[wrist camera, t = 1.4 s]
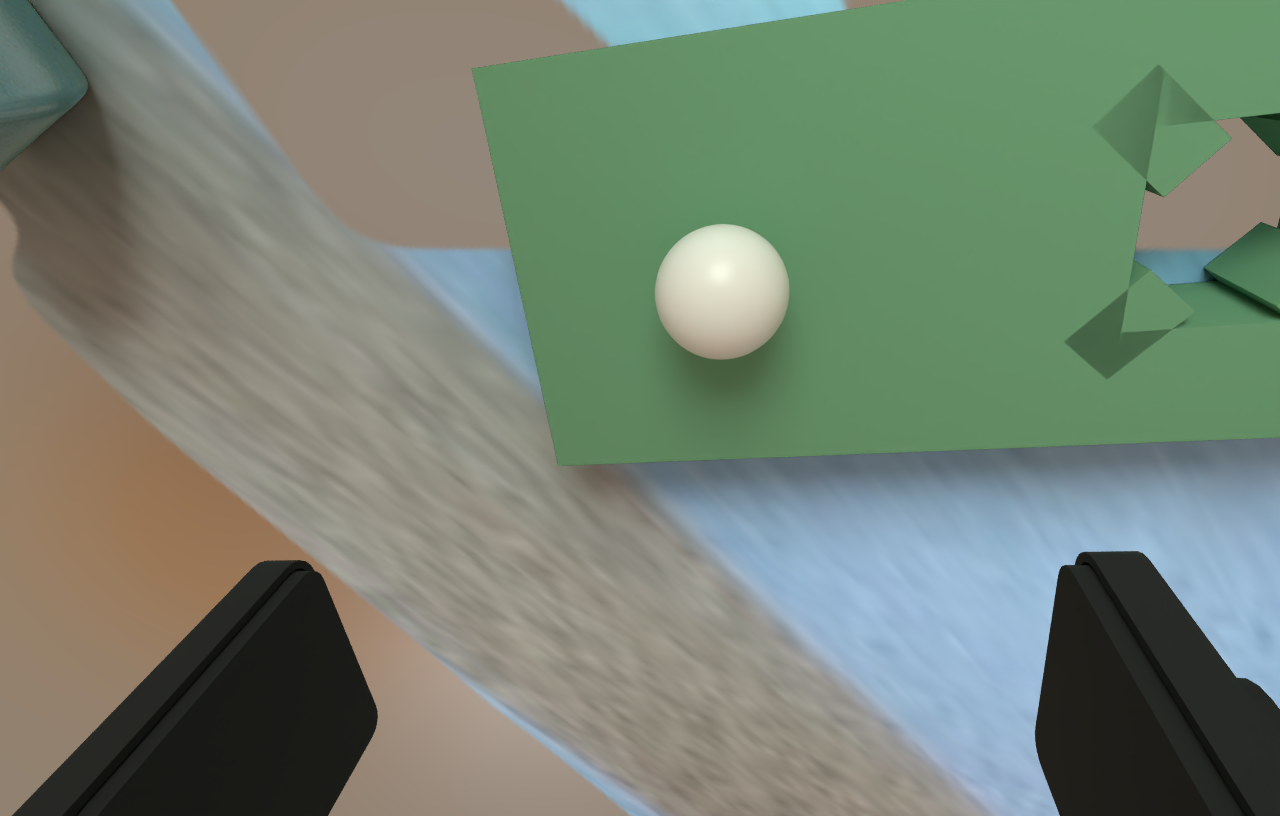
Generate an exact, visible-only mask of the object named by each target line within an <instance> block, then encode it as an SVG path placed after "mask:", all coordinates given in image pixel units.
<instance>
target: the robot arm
mask: <svg viewBox="0 0 1280 816" xmlns="http://www.w3.org/2000/svg"><path fill="white" fill-rule="evenodd" d="M377 718H378V715H377V708H376V705H375V702H374V700H373V697H372V695H371V692H370V690H369V688H368V685H367V683H366V680H365V678H364V675H363V673H362V671H361V668H360V666H359V664H358V661H357V659H356V656H355V654H354V651H353V649H352V646H351V644H350V642H349V639H348V637H347V634H346V632H345V630H344V627H343V625H342V622H341V620H340V617H339V615H338V613H337V610H336V608H335V605H334V603H333V600H332V598H331V596H330V593H329V591H328V588H327V586H326V583H325V581H324V579H323V577H322V575H321V574H320V573H318V572H316V571H314V569H313V568H312V566H311V565H310V564H309V563H307V562H306V561H300V560H293V561H291V560H290V561H289V560H288V561H264V562H260V563H258V564H257V565H256V566H254V567H253V568H252V569H251V570H250V571H249V572H248V573H247V574H246V575H245V576H244V577H243V578H242V579H241V580H240V582H238V584H237V585H236V586H235V587H234V588H233V589H232V590H231V591H230V592H229V593H228V594H227V595H226V596H225V597H224V598H223V599H222V600H221V601H220V602H219V603H218V604H217V605H216V606H215V607H214V608H213V609H212V610H211V611H210V612H209V613H208V614H207V615H206V616H205V618H204V619H203V620H202V621H201V622H200V623H199V624H198V625H197V626H196V627H195V628H194V629H193V630H192V631H191V632H190V633H189V634H188V635H187V636H186V637H185V638H184V639H183V640H182V641H181V642H180V643H179V644H178V645H177V646H176V647H175V648H174V649H173V650H172V652H171V653H170V654H169V655H168V656H167V657H166V658H165V659H164V660H163V661H162V662H161V663H160V664H159V665H158V666H157V667H156V668H155V669H154V670H153V671H152V672H151V673H150V674H149V675H148V676H147V677H146V678H145V679H144V680H143V682H141V683H140V684H139V685H138V686H137V688H136V689H135V690H134V691H133V692H132V693H131V694H130V695H129V696H128V697H127V698H126V699H125V700H124V701H123V702H122V703H121V704H120V705H119V706H118V707H117V708H116V709H115V710H114V711H113V712H112V713H111V714H110V715H109V716H108V717H107V718H106V719H105V721H104V722H103V723H102V724H101V725H100V726H99V727H98V728H97V729H96V730H95V731H94V732H93V733H92V734H91V735H90V736H89V737H88V738H87V739H86V740H85V741H84V742H83V743H82V744H81V745H80V746H79V747H78V748H77V749H76V750H75V751H74V752H73V754H71V756H70V757H69V758H68V759H67V760H66V761H65V762H64V763H63V764H62V765H61V766H60V767H59V768H58V769H57V770H56V771H55V772H54V773H53V774H52V775H51V776H50V777H49V778H48V779H47V780H46V781H45V782H44V783H43V784H42V785H41V786H40V787H39V788H38V790H37V791H36V792H35V793H34V794H33V795H32V796H31V797H30V798H29V799H28V800H27V801H26V802H25V803H24V804H23V805H22V806H21V807H20V808H19V809H18V810H17V811H16V812H15V813H14V814H13V815H12V816H328V815H329V813H330V811H331V809H332V807H333V806H334V804H335V802H336V800H337V798H338V797H339V795H340V793H341V791H342V790H343V788H344V786H345V784H346V782H347V781H348V779H349V777H350V776H351V774H352V772H353V770H354V768H355V767H356V765H357V763H358V761H359V759H360V758H361V756H362V754H363V752H364V751H365V749H366V747H367V745H368V744H369V742H370V740H371V738H372V736H373V734H374V732H375V729H376V725H377ZM1035 741H1036V748H1037V753H1038V758H1039V761H1040V764H1041V767H1042V770H1043V772H1044V775H1045V778H1046V780H1047V783H1048V786H1049V788H1050V791H1051V793H1052V796H1053V799H1054V801H1055V804H1056V807H1057V809H1058V812H1059V815H1060V816H1280V709H1279V708H1278V707H1277V705H1276V704H1275V703H1274V701H1273V700H1272V699H1271V698H1270V697H1269V696H1268V695H1267V694H1266V693H1265V692H1264V691H1263V689H1262V688H1261V687H1260V686H1258V685H1257V684H1255V683H1253V682H1252V681H1250V680H1248V679H1246V678H1236V676H1235V675H1234V674H1233V672H1232V671H1231V670H1230V668H1229V667H1228V666H1227V664H1226V663H1225V662H1224V660H1223V659H1222V658H1221V656H1220V655H1219V653H1218V652H1217V651H1216V649H1215V648H1214V647H1213V645H1212V644H1211V643H1210V641H1209V640H1208V639H1207V637H1206V636H1205V634H1204V633H1203V632H1202V630H1201V629H1200V628H1199V626H1198V625H1197V624H1196V622H1195V621H1194V620H1193V618H1192V617H1191V615H1190V614H1189V613H1188V611H1187V610H1186V609H1185V607H1184V606H1183V605H1182V603H1181V602H1180V601H1179V599H1178V598H1177V597H1176V595H1175V594H1174V592H1173V591H1172V590H1171V588H1170V587H1169V586H1168V584H1167V583H1166V582H1165V580H1164V579H1163V578H1162V576H1161V575H1160V573H1159V572H1158V571H1157V569H1156V568H1155V567H1154V565H1153V564H1152V563H1151V561H1150V560H1149V559H1148V558H1147V557H1146V556H1145V555H1144V554H1143V553H1140V552H1138V551H1123V552H1083V553H1080V554H1079V556H1078V557H1077V559H1076V562H1075V565H1064V566H1062V567H1061V569H1060V571H1059V575H1058V580H1057V587H1056V594H1055V600H1054V607H1053V614H1052V621H1051V627H1050V634H1049V641H1048V647H1047V654H1046V661H1045V667H1044V674H1043V681H1042V687H1041V694H1040V701H1039V707H1038V714H1037V721H1036V728H1035Z"/></svg>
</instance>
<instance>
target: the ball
mask: <svg viewBox="0 0 1280 816" xmlns="http://www.w3.org/2000/svg"><path fill="white" fill-rule="evenodd" d="M788 301H789V278H788V275H787V271H786V268H785V265H784V263H783V261H782V259H781V257H780V255H779V254H778V252H777V251H776V250H775V248H774V247H773V246H772V245H771V244H770V243H769V242H768V241H767V240H766V239H764V238H763V237H762V236H760V235H759V234H757V233H756V232H754V231H752V230H750V229H747V228H744V227H741V226H737V225H730V224H716V225H710V226H706V227H703V228H700V229H697V230H695V231H693V232H691V233H689V234H687V235H686V236H684V237H683V238H682V239H680V240H679V241H678V242H677V243H676V244H675V245H674V246H673V247H672V248H671V249H670V251H669V252H668V254H667V255H666V256H665V258H664V260H663V262H662V264H661V266H660V268H659V271H658V274H657V279H656V284H655V302H656V307H657V312H658V315H659V318H660V320H661V322H662V324H663V326H664V328H665V329H666V331H667V332H668V334H669V335H670V336H671V337H672V338H673V339H674V341H676V342H677V343H678V344H679V345H680V346H681V347H683V348H684V349H686V350H687V351H689V352H691V353H693V354H695V355H698V356H701V357H705V358H709V359H717V360H726V359H733V358H737V357H741V356H744V355H746V354H749V353H751V352H753V351H755V350H756V349H758V348H759V347H761V346H762V345H764V344H765V343H766V342H767V341H768V340H769V339H770V338H771V337H772V336H773V335H774V333H775V332H776V331H777V329H778V328H779V326H780V324H781V323H782V321H783V318H784V316H785V314H786V311H787V307H788Z"/></svg>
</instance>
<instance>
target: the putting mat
mask: <svg viewBox="0 0 1280 816" xmlns="http://www.w3.org/2000/svg"><path fill="white" fill-rule="evenodd" d="M472 72H473V76H474V81H475V85H476V90H477V95H478V99H479V104H480V109H481V113H482V118H483V123H484V127H485V132H486V136H487V141H488V145H489V150H490V155H491V159H492V164H493V168H494V173H495V178H496V182H497V187H498V191H499V196H500V201H501V205H502V210H503V214H504V219H505V223H506V228H507V233H508V237H509V242H510V247H511V251H512V256H513V260H514V265H515V270H516V274H517V279H518V283H519V288H520V293H521V297H522V302H523V306H524V311H525V316H526V320H527V325H528V329H529V334H530V339H531V343H532V348H533V352H534V357H535V362H536V366H537V371H538V375H539V380H540V385H541V389H542V394H543V398H544V403H545V407H546V412H547V417H548V421H549V426H550V430H551V435H552V440H553V444H554V449H555V453H556V458H557V463H558V466H570V465H595V464H620V463H646V462H671V461H697V460H722V459H747V458H773V457H798V456H824V455H849V454H875V453H900V452H925V451H951V450H976V449H1002V448H1027V447H1053V446H1078V445H1103V444H1129V443H1154V442H1180V441H1205V440H1230V439H1256V438H1280V219H1279V223H1278V227H1277V228H1275V227H1273V226H1270V225H1267V224H1264V223H1262V222H1260V223H1259V224H1258V225H1257V226H1255V227H1254V228H1253V229H1252V230H1251V231H1249V232H1248V233H1247V234H1245V235H1244V236H1243V237H1242V238H1240V239H1239V240H1238V241H1237V242H1235V243H1234V244H1233V245H1231V246H1230V247H1229V248H1228V249H1226V250H1225V251H1224V252H1223V253H1221V254H1220V255H1219V256H1218V257H1216V258H1215V259H1214V260H1213V261H1211V262H1210V263H1209V264H1208V265H1206V266H1205V267H1204V268H1205V269H1206V270H1207V271H1208V272H1209V273H1210V274H1211V275H1212V276H1213V277H1214V278H1215V279H1216V280H1217V281H1210V282H1197V283H1184V284H1171V285H1166V284H1165V283H1164V282H1163V281H1162V280H1161V279H1160V278H1159V277H1158V276H1157V275H1156V274H1155V273H1153V272H1152V271H1151V270H1150V269H1148V268H1147V267H1145V266H1143V265H1142V264H1140V263H1138V262H1137V261H1135V260H1133V259H1134V253H1135V247H1136V241H1137V235H1138V229H1139V222H1140V217H1141V210H1142V205H1143V199H1144V193H1145V190H1148V191H1150V192H1152V193H1155V194H1157V195H1160V196H1162V197H1165V196H1166V195H1167V194H1168V193H1170V192H1171V191H1172V190H1173V189H1174V188H1175V187H1176V186H1178V185H1179V184H1180V183H1181V182H1182V181H1183V180H1185V179H1186V178H1187V177H1188V176H1189V175H1190V174H1191V173H1192V172H1194V171H1195V170H1196V169H1197V168H1198V167H1200V166H1201V165H1202V164H1203V163H1204V162H1205V161H1207V160H1208V159H1209V158H1210V157H1211V156H1212V155H1214V154H1215V153H1216V152H1217V151H1218V150H1219V149H1220V148H1222V147H1223V146H1224V145H1225V144H1226V143H1227V142H1228V141H1230V140H1231V139H1232V138H1231V137H1230V136H1229V135H1228V134H1227V133H1226V132H1225V131H1224V130H1223V129H1222V128H1221V127H1220V126H1219V125H1218V124H1217V123H1216V122H1215V121H1214V120H1222V119H1230V118H1239V117H1240V118H1241V119H1242V120H1243V121H1244V122H1245V123H1246V124H1247V125H1248V126H1249V127H1250V128H1251V129H1252V130H1253V131H1254V132H1255V133H1256V134H1257V136H1258V137H1259V138H1260V139H1262V141H1264V142H1265V144H1266V145H1267V146H1268V147H1269V148H1270V149H1271V150H1272V151H1273V152H1274V153H1275V154H1276V155H1278V156H1280V0H906V1H900V2H893V3H887V4H880V5H874V6H868V7H861V8H855V9H849V10H842V11H836V12H829V13H823V14H817V15H810V16H804V17H797V18H791V19H785V20H778V21H772V22H766V23H759V24H753V25H746V26H740V27H734V28H727V29H721V30H714V31H708V32H702V33H695V34H689V35H683V36H676V37H670V38H663V39H657V40H651V41H644V42H638V43H631V44H625V45H619V46H612V47H606V48H600V49H594V50H587V51H581V52H574V53H568V54H561V55H555V56H548V57H542V58H536V59H530V60H523V61H517V62H510V63H504V64H498V65H491V66H485V67H479V68H472ZM716 224H730V225H737V226H741V227H744V228H747V229H750V230H752V231H754V232H756V233H757V234H759V235H760V236H762V237H763V238H764V239H766V240H767V241H768V242H769V243H770V244H771V245H772V246H773V247H774V248H775V250H776V251H777V252H778V254H779V255H780V257H781V259H782V261H783V263H784V265H785V268H786V271H787V275H788V278H789V301H788V307H787V311H786V314H785V316H784V318H783V321H782V323H781V324H780V326H779V328H778V329H777V331H776V332H775V333H774V335H773V336H772V337H771V338H770V339H769V340H768V341H767V342H766V343H765V344H764V345H762V346H761V347H759V348H758V349H756V350H755V351H753V352H751V353H749V354H746V355H744V356H741V357H737V358H733V359H726V360H717V359H709V358H705V357H701V356H698V355H695V354H693V353H691V352H689V351H687V350H686V349H684V348H683V347H681V346H680V345H679V344H678V343H677V342H676V341H674V339H673V338H672V337H671V336H670V335H669V334H668V332H667V331H666V329H665V328H664V326H663V324H662V322H661V320H660V318H659V315H658V312H657V307H656V302H655V284H656V279H657V274H658V271H659V268H660V266H661V264H662V262H663V260H664V258H665V256H666V255H667V254H668V252H669V251H670V249H671V248H672V247H673V246H674V245H675V244H676V243H677V242H678V241H679V240H680V239H682V238H683V237H684V236H686V235H687V234H689V233H691V232H693V231H695V230H697V229H700V228H703V227H706V226H710V225H716Z"/></svg>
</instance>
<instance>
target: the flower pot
mask: <svg viewBox="0 0 1280 816" xmlns="http://www.w3.org/2000/svg"><path fill="white" fill-rule="evenodd" d="M87 90H88V82H87V79H86V77H85V75H84V74H83V72H82V71H81V69H80V68H79V67H78V65H77V64H76V63H75V62H74V60H73V59H72V58H71V56H70V55H69V54H68V53H67V51H66V50H65V49H64V47H63V46H62V45H61V43H60V42H59V41H58V40H57V38H56V37H55V36H54V34H53V33H52V32H51V31H50V29H49V28H48V27H47V25H46V24H45V23H44V21H43V20H42V19H41V17H40V16H39V15H38V13H37V12H36V11H35V9H34V8H33V7H32V5H31V4H30V3H29V1H28V0H0V171H1V170H2V169H3V168H4V167H5V166H7V165H8V164H9V163H10V162H11V161H12V160H13V159H14V158H15V157H16V156H17V155H19V154H20V153H21V152H22V151H23V150H24V149H25V148H27V147H28V146H29V145H30V144H31V143H32V142H33V141H34V140H36V139H37V138H38V137H39V136H40V135H41V134H42V133H43V132H45V131H46V130H47V129H48V128H49V127H50V126H51V125H52V124H53V123H54V122H56V121H57V120H58V119H59V118H60V117H61V116H63V115H64V114H65V113H66V112H67V111H69V110H70V109H71V108H72V107H73V106H75V105H76V104H77V103H78V102H79V101H80V99H81V98H82V97H83V96H84V95H85V94H86V92H87Z"/></svg>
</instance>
